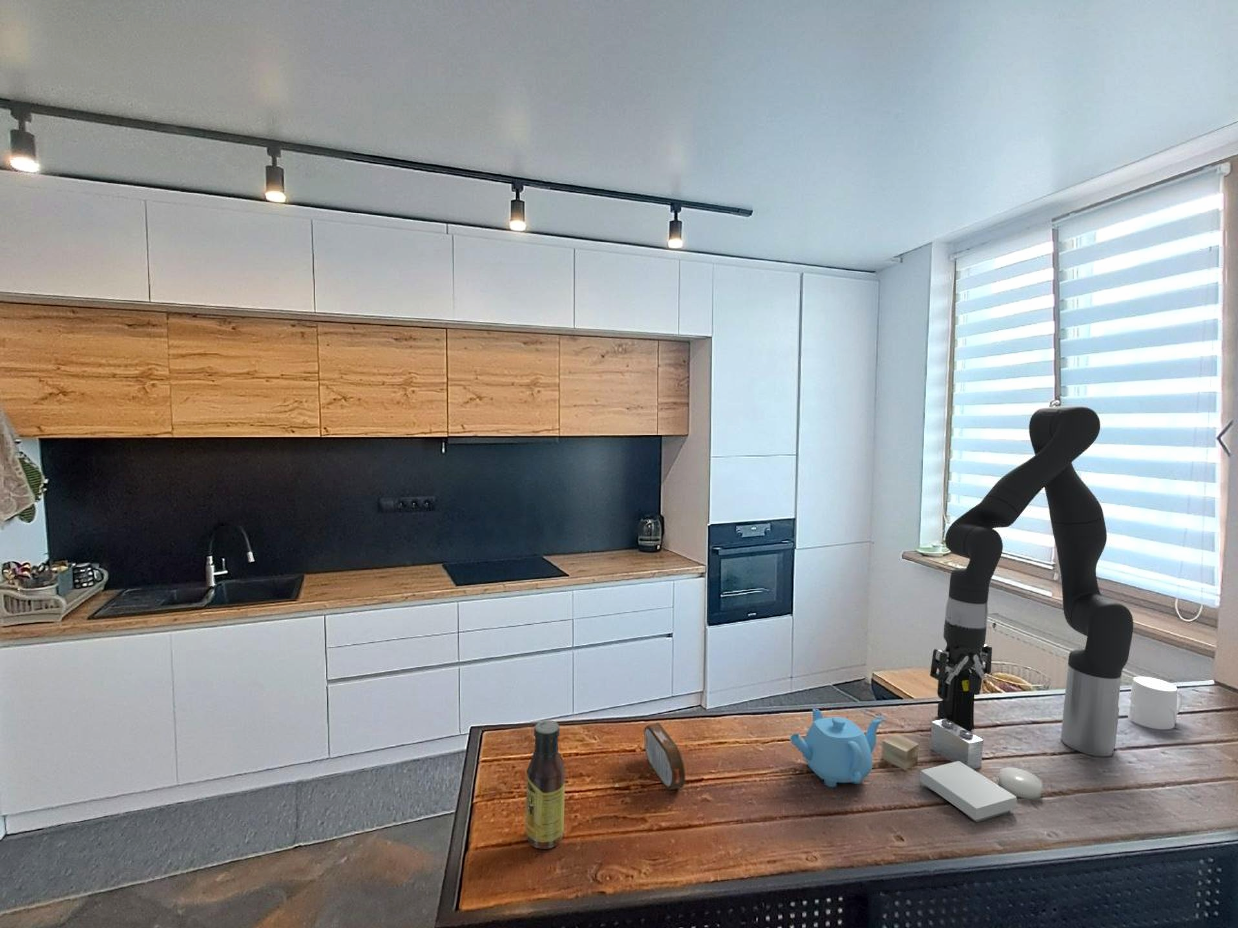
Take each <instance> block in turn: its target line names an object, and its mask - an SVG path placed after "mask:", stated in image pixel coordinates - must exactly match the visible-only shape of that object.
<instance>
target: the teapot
mask: <svg viewBox="0 0 1238 928" xmlns="http://www.w3.org/2000/svg"><path fill="white" fill-rule="evenodd" d="M821 711H822V710H821ZM821 711H820V710H819V708H812V723H811V725H810V727H809V728H808V730H807V732H806V734H805V737H804V739H803V738H802V736H801V735H799V733H797V732H796V733H795V732H794V733H793V734H791V736H790V738H789V742H791V744H792V745H793V746H794V747H795V748H796V749H797V750H798V751H799V752H800V753H801V754H802V756H803V758H804V760H805V762H806V765H808V767H809V768H810V769H811V771H813V773H814V774H815V775H817V776H818V778H820V779H822V780H824V782H823V784H824V785H825V786H827V787H829V788H835V787H837V783H852V784H855V785H861V784H863V781H862V780H863V779H866V777H867V776H869V775H870V773H871V772H872V770H873V756H872V755H873V754H872V753H873V752H874V750H875V748H876V744H877V731H878V727H879V726H880V724H881V723H882V722H883V721H884V719H885V718H884V717H882V716H880V717H876V718H874V719H873V720H872V721H871V722H870V723H869V725H868V727H867V730H866V732H864V731H863V730H862V729H861V728H860V727H859V726H858V725H857V724H856V723H854V722H853V721H852V720H850V719H848V718H845V717H840V716H833V717H831V716H830V717H824V716H823V715H822V713H821Z"/></svg>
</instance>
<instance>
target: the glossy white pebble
mask: <svg viewBox="0 0 1238 928" xmlns="http://www.w3.org/2000/svg"><path fill="white" fill-rule="evenodd" d="M998 784H999V786H1000V787H1002V788H1003V789H1005V790H1006V791H1008V792H1010V793H1011V794H1013V795H1014V796H1016V797H1017V798H1018V797H1019V798H1022V799H1026V800H1027V799H1028V800H1037V799H1040V798H1041V797H1042V795H1043V781H1042V780H1041V778H1039V777H1038V776H1036V775H1035V774H1033V773H1031V772H1029V771H1026V770H1024V769H1021V768H1017V767H1010V766H1009V767H1003V768H1001V769H999V772H998Z"/></svg>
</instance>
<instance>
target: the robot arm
mask: <svg viewBox="0 0 1238 928" xmlns="http://www.w3.org/2000/svg"><path fill="white" fill-rule="evenodd" d="M1100 430H1101V420H1100V418H1099V416H1098V414H1097V412H1096V411H1095V410H1093V409H1092V408H1090V407H1088V406H1083V405H1062V406H1061V405H1060V406H1059V405H1058V406H1046V407H1041V408H1039V409H1037V410H1035V411H1034V413H1033V414H1032V415H1031V417H1030V420H1029V424H1028V433H1029V439H1030V443H1031V446H1032V451H1033V452H1034V456H1032V457H1031V458H1029V459H1028V460H1027V461H1025V462H1023V463H1022V464H1020V465H1018V466H1017V467H1015V468H1014V469H1012V470H1011V471H1009V472H1008V473H1006V474H1005V475H1003V476H1002V477H1001V478H1000V479H999V480H998V481H997V482H996V483H995V484H994V485H993V486H992V488H991V489H990V490H989V491H988V493H987V494H986V495H985V496H984V497H983V499H982V500H981V501H980V503H978V504H976V505H975V506H973V507H972V508H970V509H969V510H968V511H966V512H965V513H963V514H962V515H961V516H959V517H958V518H957V519H955V520H954V522H952V523H951V525H950V526H949V527H948V529H947V531H946V533H945V536H944V537H945V539H944V542H945V543H944V544H945V547H946V549H948V550H949V551H950V552H951V553H952V554H955V555H957V556H960V557H963V558H966V559H969V561H968V564H967V565H966V567H965V568H964V567H959V568H955V569H953V570H952V571H951V573H950V577H949V589H948V597H947V602H946V606H945V616H944V624H943V634H944V635H943V639H944V641H945V642H946V647H945V649H944V650H940V649H938V648H934V649H933V652H932V657H931V658H932V659H931V665H930V671H929V672H930V673H929V676H930V677H931V678H933V679H935V680H937V691H936V692H937V693H936V694H937V697H938V698H939V699H941V700H945V701H947V700H949V697H950V687H951V684H950V682H951V680H952V678H953V677H954V676H955V675H958V673H959V672H960V671H961V670H964V669H969V671H970V673H972V674H970V675H969V685H968V691H969V692H971V693H973V694H974V696H978V695H980V693H981V690H982V681H983V680H982V679H983V678H984V677H985V675H990V674H991V672H992V658H993V655H992V654H993V647H992V646H990V645H988V644H986V637H987V626H988V616H989V607H988V605H989V604H988V603H989V602H988V601H989V592H990V582H991V580H992V578H993V576H994V574H995V572H996V568H997V566H998V564H999V562H1000V560H1001V558H1002V554H1003V550H1004V549H1003V548H1004V544H1003V540H1002V537H1001V535H1000V533H999V532H998V531H997V530H995V529H996V528H998V529H999V528H1007V527H1010V526H1012V525H1013V524H1014V523H1015V522H1016V520H1017V519H1018V518H1019V517H1020V516H1021V515H1022V513H1023V512H1024V510H1026V508H1027V507H1028V506H1029V504H1030V503H1031V502H1032V501H1033V499H1034V498H1035V497H1036V496H1037V495H1038V494H1039V493H1040V492H1041V491H1042V490H1043V489H1044V492H1045V496H1046V500H1047V501H1046V502H1047V506H1048V513H1049V518H1050V524H1051V528H1052V534H1053V538H1054V542H1055V548H1056V553H1057V558H1058V565H1059V566H1058V567H1059V571H1060V579H1061V592H1062V593H1061V594H1062V608H1063V615H1064V618H1065V620H1066V621H1065V622H1066V623H1067V624H1068V625H1069V627H1070V628H1071V629H1073V630H1074V631H1075V632H1077V633H1079V634H1082V635H1084V636H1085V637H1086V642H1085V647H1084V649H1083V648H1082V649H1074V650H1071V651H1070V652H1069V654H1068V658H1067V659H1068V661H1067V670H1066V681H1065V692H1064V700H1063V701H1064V702H1063V710H1062V711H1063V712H1062V720H1061V721H1062V722H1061V732H1060V740H1061V741H1062V742H1063V744H1064V745H1066V746H1068V747H1069V748H1071V749H1073V750H1075V751H1077V752H1079V753H1083V754H1087V755H1090V756H1095V757H1103V758H1104V757H1110V756H1112V755H1113V754H1114V749H1116V743H1117V742H1116V740H1117V732H1118V723H1119V715H1120V714H1119V713H1120V707H1119V700H1120V691H1121V683H1122V675H1123V674H1122V673H1123V669H1124V668H1125V667H1126V665H1127V663H1128V660H1129V657H1130V652H1131V651H1130V650H1131V646H1132V644H1131V643H1132V641H1133V640H1132V639H1133V633H1134V617H1133V614H1132V612H1131V611H1130V610H1129V608H1128V607H1127V606H1125V605H1124V604H1122V603H1119V602H1117V601H1115V600H1113V599H1110V598H1106V597H1104V596H1102V594H1101V591H1100V587H1099V583H1098V578H1097V565H1098V562H1099V561H1100V560H1099V559H1100V558H1101V556H1102V554H1103V552H1104V550H1105V548H1106V547H1105V546H1106V543H1107V541H1108V535H1107V527H1106V521H1105V515H1104V511H1103V508H1102V505H1101V503H1100V501H1099V500H1098V499H1097V497H1096V495H1095V494H1094V493H1093V492H1092V490H1091V489H1090V488H1089V487H1088V485H1086V483H1085V482H1084V481H1083V480H1082V478H1081V477H1080V476H1079V473H1077V472H1076V470H1075V467H1074V465H1073V462H1074V461H1075V460H1076V459H1078V458H1079V457H1080V456H1081V455H1082V454H1083V453H1084V452H1086V451H1087V450H1088V449H1089V448H1090V447H1091V445H1093V444H1094V443H1095V442H1096V440H1097V438H1098V436H1099V434H1100ZM983 662H984V665H983ZM948 664H950V665H951V666H952V667H953V668H950V667H948ZM947 671H948V672H949V673H948V675H947V676H945V673H946V672H947Z"/></svg>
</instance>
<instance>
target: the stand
mask: <svg viewBox="0 0 1238 928" xmlns="http://www.w3.org/2000/svg"><path fill="white" fill-rule="evenodd" d="M919 781H920V782H921V783H922V784H923V785H924V786H925V787H926V788H928V789H929V790H930V791H933V792H934V793H936V794H938V795H939V796H940V797H942V798H943V799H945V800H946V801H947V802H949V803H950V804H952V805H953V806H955V807H956V808H958V810H960V811H961V812H963V813H965V814H966V815H967V816H968V817H969V818H970V819H971V820H972V821H974V822H976V823H978V822H982V821H985V820H988V819H992V818H995V817H999V816H1002V815H1006V814H1008V813H1011V811H1013V810H1015V809H1017V800H1018V799H1017V798H1018V796H1015V795H1013V794H1011V793H1010V792H1008V791H1006V790H1005V789H1003V788H1002V787H1001V786H1000V785H998V784H997V783H995V782H994V781H993V780H991V779H989V778H987V777H985V776H984V775H982V774H980V773H979V772H977V771H976V770H975V769H971V768H970V767H968V766H966V765H965V764H963V763H962V762H960V761H957V762H949V763H945V764H941V765H938V766H937V765H936V766H933V767H930V768H929V767H928V768H925V769H922V770H920V780H919Z"/></svg>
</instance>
